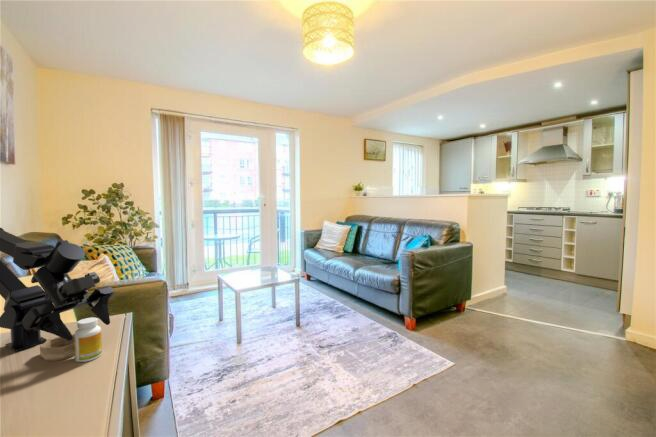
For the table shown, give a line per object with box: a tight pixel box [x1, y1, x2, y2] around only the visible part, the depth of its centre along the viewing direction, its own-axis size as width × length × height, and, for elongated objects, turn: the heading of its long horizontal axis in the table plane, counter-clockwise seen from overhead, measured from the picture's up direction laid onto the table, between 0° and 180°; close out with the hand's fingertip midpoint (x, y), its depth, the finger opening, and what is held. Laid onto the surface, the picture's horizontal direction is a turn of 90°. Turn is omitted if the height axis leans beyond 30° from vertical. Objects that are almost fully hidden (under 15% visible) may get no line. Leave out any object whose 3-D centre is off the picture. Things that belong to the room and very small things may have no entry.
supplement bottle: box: [73, 316, 103, 363], centre depth 76 cm, size 5×5×10 cm
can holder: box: [39, 333, 75, 362], centre depth 78 cm, size 8×8×3 cm
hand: (91, 331), depth 76 cm, fingers open, 9 cm apart
